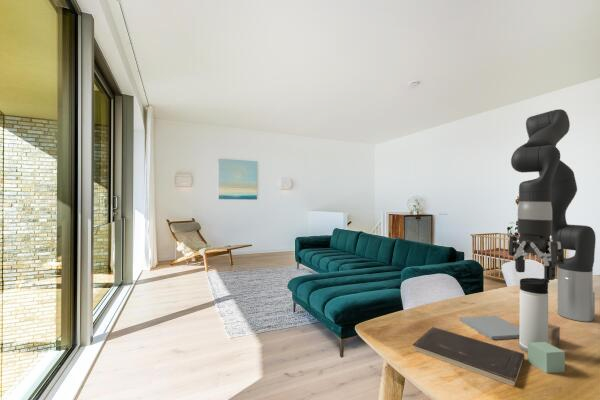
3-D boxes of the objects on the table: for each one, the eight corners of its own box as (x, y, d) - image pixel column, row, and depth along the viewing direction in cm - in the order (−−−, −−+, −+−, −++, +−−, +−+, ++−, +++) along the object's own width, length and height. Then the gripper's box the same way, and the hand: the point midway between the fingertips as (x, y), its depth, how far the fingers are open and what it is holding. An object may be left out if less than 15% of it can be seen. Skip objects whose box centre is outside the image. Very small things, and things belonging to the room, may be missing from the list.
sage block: (544, 360, 75) (544, 341, 75) (564, 372, 70) (564, 351, 70) (527, 362, 75) (527, 342, 75) (546, 373, 70) (546, 352, 70)
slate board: (495, 318, 102) (495, 315, 102) (532, 337, 88) (532, 333, 88) (459, 320, 100) (459, 317, 100) (491, 339, 86) (491, 336, 86)
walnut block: (539, 336, 89) (539, 320, 89) (559, 343, 84) (559, 326, 84) (530, 340, 87) (531, 323, 87) (551, 347, 82) (551, 330, 82)
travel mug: (555, 357, 77) (555, 282, 77) (527, 354, 78) (527, 281, 78) (540, 346, 83) (540, 276, 83) (514, 343, 84) (515, 275, 84)
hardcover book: (514, 390, 64) (515, 380, 64) (412, 352, 80) (412, 344, 80) (524, 361, 76) (524, 352, 76) (433, 333, 92) (433, 326, 92)
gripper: (573, 219, 74) (572, 282, 74) (523, 216, 88) (522, 269, 88) (547, 219, 73) (547, 283, 73) (501, 216, 87) (500, 269, 87)
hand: (533, 275), depth 81 cm, fingers open, 8 cm apart
